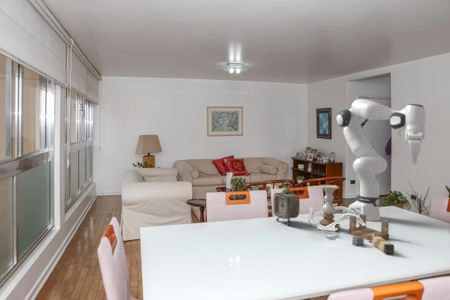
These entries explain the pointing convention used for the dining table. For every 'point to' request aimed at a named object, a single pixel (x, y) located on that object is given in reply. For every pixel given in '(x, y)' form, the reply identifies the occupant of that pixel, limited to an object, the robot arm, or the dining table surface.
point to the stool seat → (367, 231)
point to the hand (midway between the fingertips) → (414, 163)
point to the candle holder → (328, 206)
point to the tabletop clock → (286, 204)
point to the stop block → (358, 240)
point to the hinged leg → (382, 244)
